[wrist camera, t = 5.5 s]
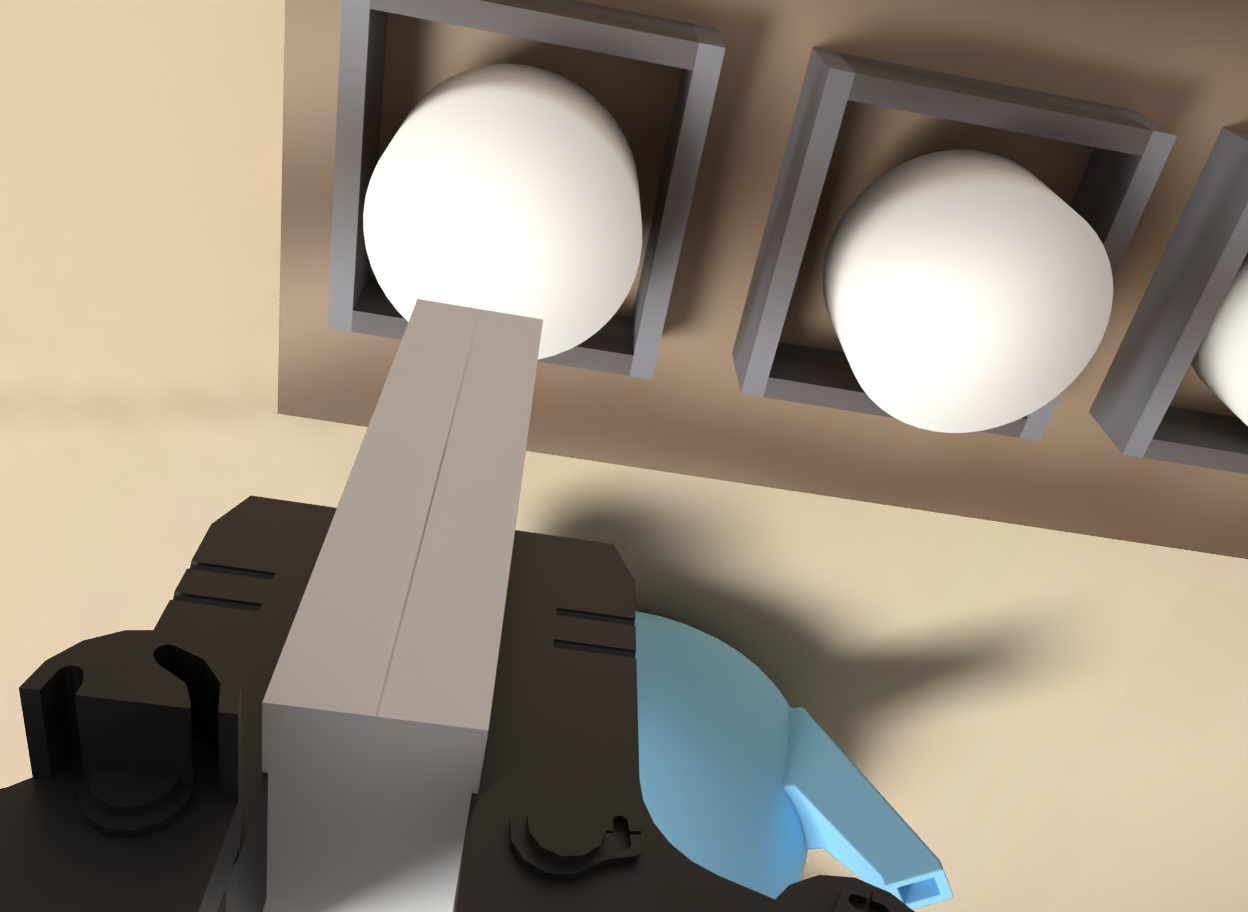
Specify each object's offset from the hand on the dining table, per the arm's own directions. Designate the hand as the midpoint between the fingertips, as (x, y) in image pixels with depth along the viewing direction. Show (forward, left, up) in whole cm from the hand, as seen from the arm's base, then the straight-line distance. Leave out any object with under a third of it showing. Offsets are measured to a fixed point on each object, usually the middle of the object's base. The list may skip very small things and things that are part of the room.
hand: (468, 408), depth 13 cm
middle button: (0, -9, -9) cm, 13 cm away
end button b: (0, 0, -9) cm, 9 cm away
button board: (0, -9, -14) cm, 17 cm away
